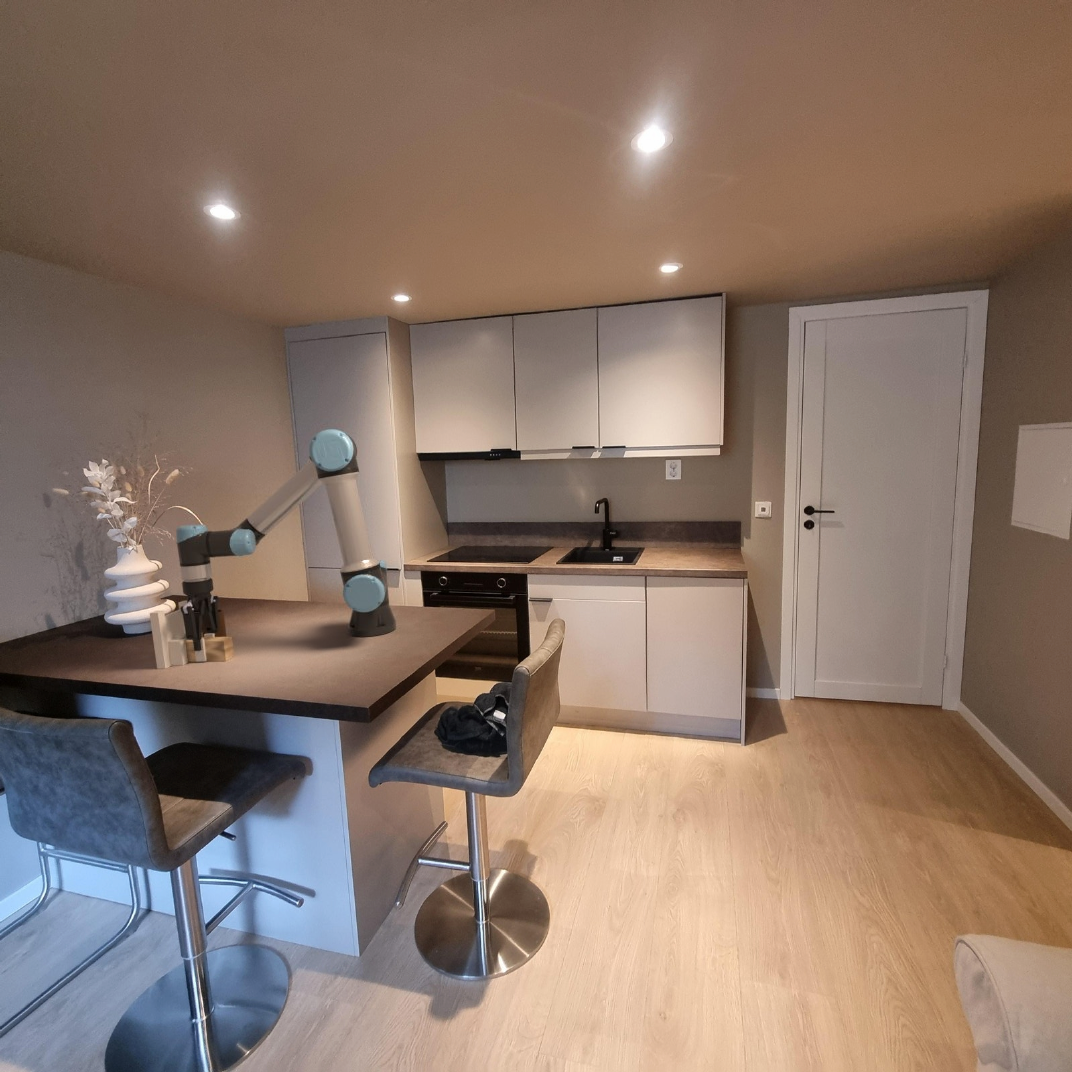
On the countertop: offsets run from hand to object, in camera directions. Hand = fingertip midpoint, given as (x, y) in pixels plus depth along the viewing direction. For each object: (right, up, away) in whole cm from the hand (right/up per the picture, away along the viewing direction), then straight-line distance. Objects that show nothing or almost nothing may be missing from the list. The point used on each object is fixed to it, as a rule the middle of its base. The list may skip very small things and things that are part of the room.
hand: (206, 657), depth 164 cm
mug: (-9, +1, +17) cm, 19 cm away
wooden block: (0, 0, 0) cm, 0 cm away
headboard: (-6, -1, +1) cm, 6 cm away
